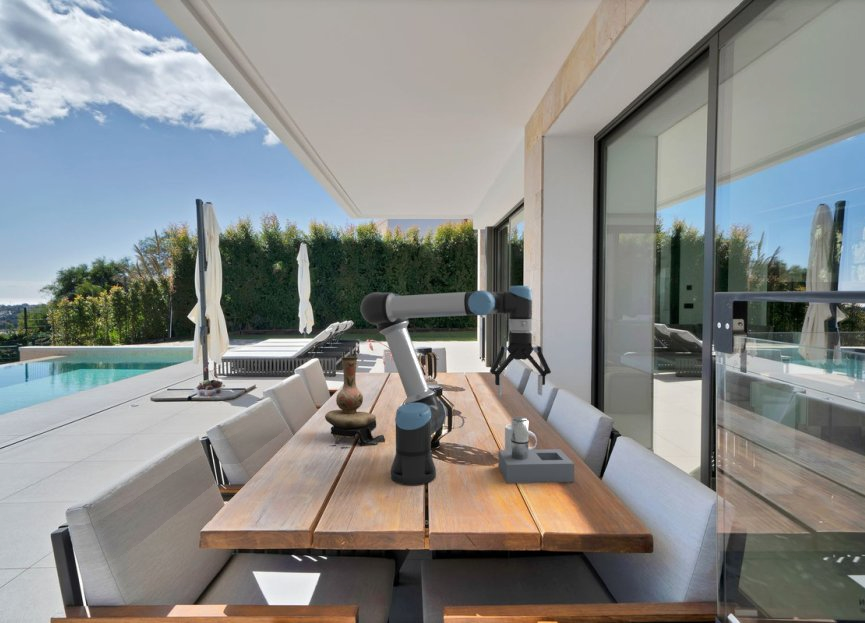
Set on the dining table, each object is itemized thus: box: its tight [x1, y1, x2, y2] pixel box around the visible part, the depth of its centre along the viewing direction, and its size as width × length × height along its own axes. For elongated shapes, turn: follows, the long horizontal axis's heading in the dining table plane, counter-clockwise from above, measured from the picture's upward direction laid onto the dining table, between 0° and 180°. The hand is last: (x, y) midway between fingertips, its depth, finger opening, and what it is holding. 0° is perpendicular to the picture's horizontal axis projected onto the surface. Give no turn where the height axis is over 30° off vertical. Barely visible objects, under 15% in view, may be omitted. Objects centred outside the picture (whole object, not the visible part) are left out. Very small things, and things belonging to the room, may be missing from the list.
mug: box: [504, 423, 538, 450], centre depth 168 cm, size 9×12×11 cm
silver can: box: [511, 415, 530, 460], centre depth 149 cm, size 6×6×13 cm
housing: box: [497, 448, 575, 484], centre depth 149 cm, size 22×14×6 cm, turn 93°
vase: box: [324, 356, 386, 449], centre depth 188 cm, size 24×22×35 cm
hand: (519, 394), depth 149 cm, fingers open, 13 cm apart
